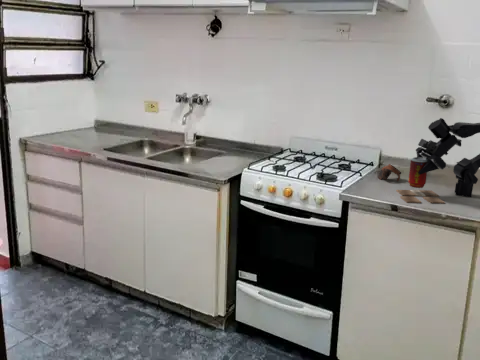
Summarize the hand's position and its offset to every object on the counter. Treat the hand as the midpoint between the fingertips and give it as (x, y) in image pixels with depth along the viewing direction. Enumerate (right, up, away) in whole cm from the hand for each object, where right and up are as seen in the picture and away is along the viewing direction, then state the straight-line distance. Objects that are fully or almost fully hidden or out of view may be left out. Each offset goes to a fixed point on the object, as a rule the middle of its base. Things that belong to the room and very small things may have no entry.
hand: (415, 171), depth 214 cm
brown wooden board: (+2, -10, +3) cm, 10 cm away
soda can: (+1, -7, +2) cm, 7 cm away
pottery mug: (-5, -4, +24) cm, 24 cm away
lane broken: (+1, -12, -6) cm, 14 cm away
